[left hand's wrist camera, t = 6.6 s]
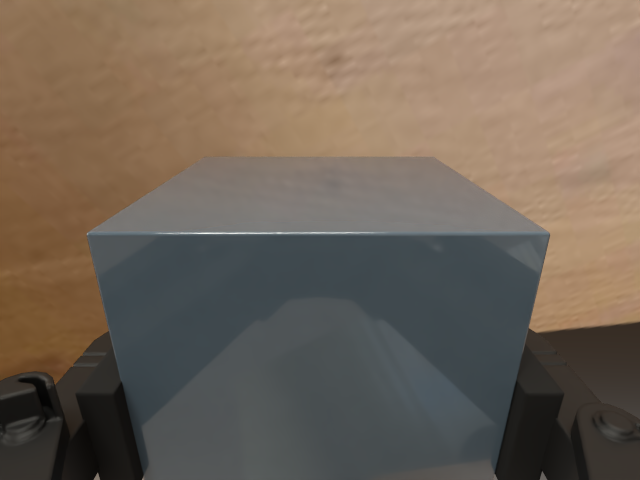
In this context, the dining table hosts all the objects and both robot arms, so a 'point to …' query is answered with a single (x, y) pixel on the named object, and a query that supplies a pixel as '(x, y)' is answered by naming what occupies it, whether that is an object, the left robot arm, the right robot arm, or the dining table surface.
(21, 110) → the dining table surface
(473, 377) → the block
